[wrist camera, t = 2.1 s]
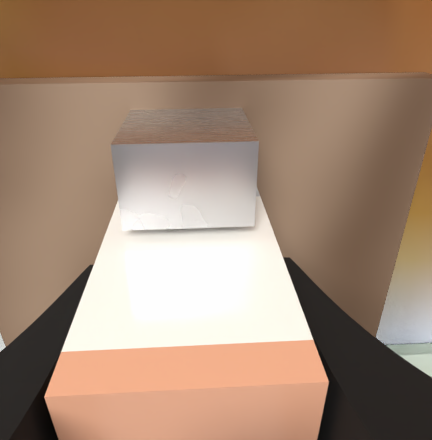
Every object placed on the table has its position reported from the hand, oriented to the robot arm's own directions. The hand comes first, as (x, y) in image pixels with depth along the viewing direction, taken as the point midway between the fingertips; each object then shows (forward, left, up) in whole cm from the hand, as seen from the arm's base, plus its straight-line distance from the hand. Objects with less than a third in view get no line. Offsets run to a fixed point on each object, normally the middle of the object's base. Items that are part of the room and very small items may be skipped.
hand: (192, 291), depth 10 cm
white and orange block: (0, 0, -2) cm, 2 cm away
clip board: (0, 0, -3) cm, 3 cm away
